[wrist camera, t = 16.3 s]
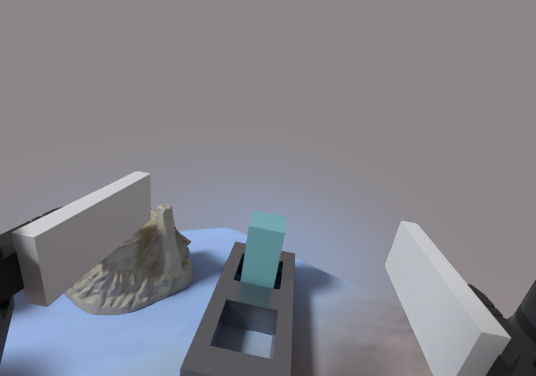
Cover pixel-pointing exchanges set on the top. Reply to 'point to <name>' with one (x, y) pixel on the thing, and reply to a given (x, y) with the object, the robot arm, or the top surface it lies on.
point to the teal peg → (263, 249)
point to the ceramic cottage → (137, 270)
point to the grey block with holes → (245, 322)
